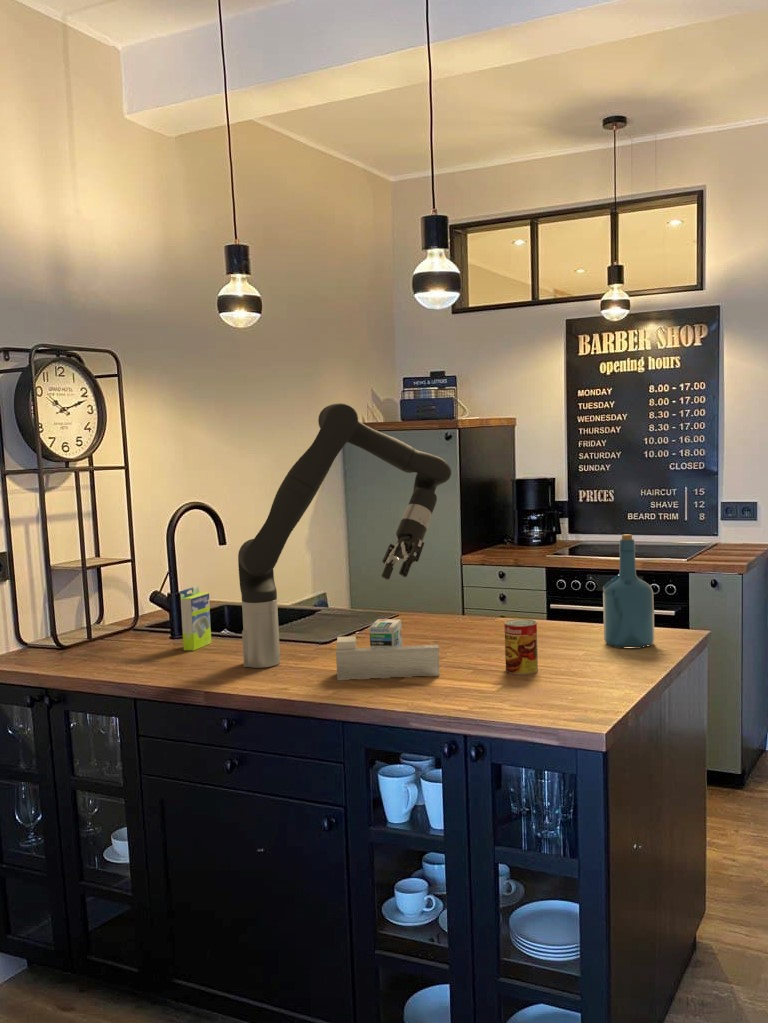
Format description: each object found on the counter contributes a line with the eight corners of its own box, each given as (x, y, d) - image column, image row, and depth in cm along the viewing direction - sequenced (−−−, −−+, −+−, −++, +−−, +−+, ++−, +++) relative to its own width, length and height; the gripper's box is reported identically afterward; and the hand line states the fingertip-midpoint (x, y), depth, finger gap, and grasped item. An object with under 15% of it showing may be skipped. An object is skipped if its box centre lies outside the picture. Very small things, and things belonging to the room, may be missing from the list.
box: (194, 651, 260) (190, 591, 258) (181, 650, 261) (178, 591, 260) (212, 643, 270) (209, 585, 268) (200, 642, 271) (197, 585, 270)
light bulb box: (396, 668, 230) (394, 627, 229) (370, 668, 232) (368, 627, 231) (403, 658, 241) (402, 618, 240) (378, 658, 242) (377, 618, 241)
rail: (337, 681, 220) (335, 652, 219) (338, 672, 229) (337, 643, 228) (439, 677, 220) (438, 647, 219) (437, 667, 229) (436, 639, 229)
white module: (338, 678, 223) (336, 642, 222) (339, 671, 229) (337, 636, 229) (357, 677, 223) (355, 641, 222) (357, 670, 229) (355, 635, 229)
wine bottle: (663, 642, 247) (661, 533, 245) (639, 652, 237) (637, 538, 235) (618, 636, 256) (615, 531, 254) (593, 645, 247) (591, 536, 245)
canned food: (500, 668, 226) (498, 621, 225) (527, 664, 229) (526, 618, 228) (515, 676, 218) (514, 626, 218) (544, 671, 221) (542, 623, 220)
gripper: (389, 521, 251) (368, 572, 245) (418, 513, 239) (397, 567, 233) (409, 534, 254) (389, 585, 248) (439, 527, 243) (419, 581, 236)
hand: (393, 577), depth 241 cm, fingers open, 8 cm apart
